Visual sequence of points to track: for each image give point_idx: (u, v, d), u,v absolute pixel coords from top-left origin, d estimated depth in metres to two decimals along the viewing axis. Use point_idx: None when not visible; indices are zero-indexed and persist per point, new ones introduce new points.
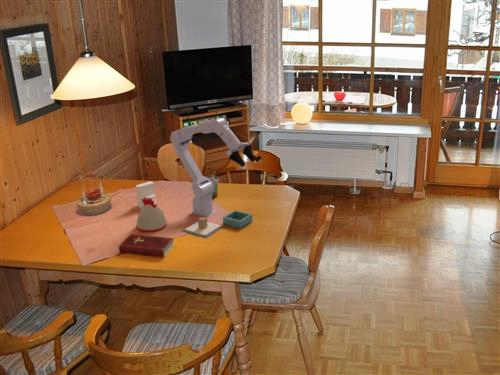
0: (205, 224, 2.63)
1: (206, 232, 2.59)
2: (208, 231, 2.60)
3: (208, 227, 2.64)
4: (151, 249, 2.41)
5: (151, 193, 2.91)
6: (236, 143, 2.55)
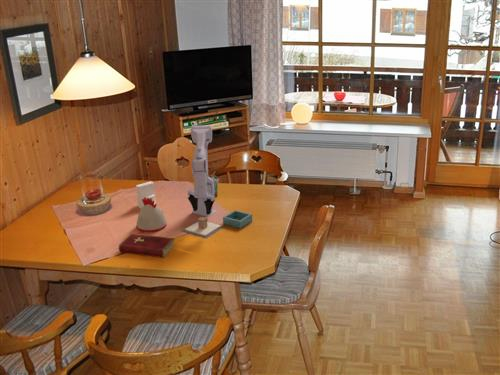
0: (205, 224, 2.63)
1: (206, 232, 2.59)
2: (208, 231, 2.60)
3: (208, 227, 2.64)
4: (151, 249, 2.41)
5: (151, 193, 2.91)
6: (195, 192, 2.57)
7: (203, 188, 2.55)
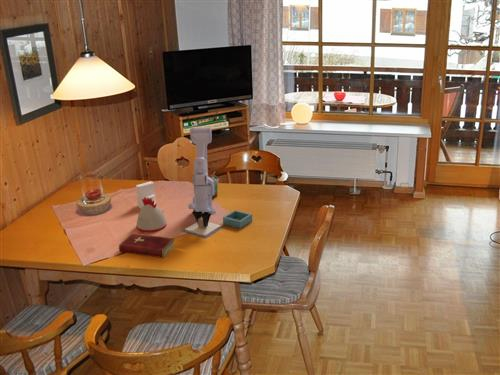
0: None
1: (206, 232, 2.59)
2: (208, 231, 2.60)
3: (208, 227, 2.64)
4: (150, 249, 2.41)
5: (151, 193, 2.91)
6: (196, 206, 2.59)
7: (204, 202, 2.57)
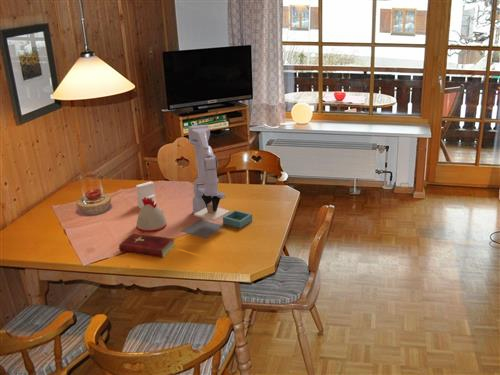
0: None
1: (215, 217, 2.58)
2: (217, 216, 2.59)
3: (217, 212, 2.63)
4: (150, 249, 2.41)
5: (151, 193, 2.91)
6: (205, 190, 2.58)
7: (213, 186, 2.56)
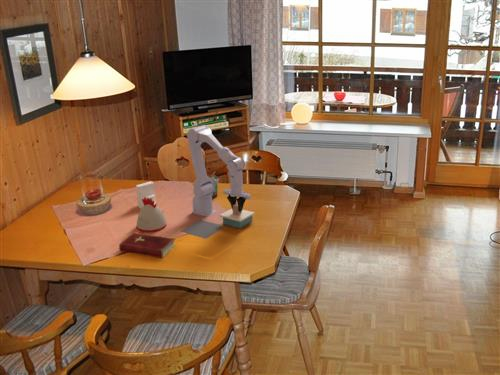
0: None
1: (241, 218, 2.63)
2: (243, 217, 2.64)
3: (242, 214, 2.68)
4: (150, 249, 2.41)
5: (151, 193, 2.91)
6: (231, 191, 2.63)
7: (239, 187, 2.61)
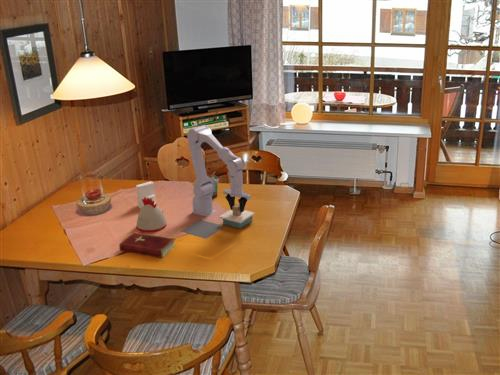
0: (239, 211, 2.67)
1: (241, 219, 2.63)
2: (243, 218, 2.64)
3: (242, 214, 2.68)
4: (150, 249, 2.41)
5: (151, 193, 2.91)
6: (231, 191, 2.63)
7: (239, 187, 2.61)
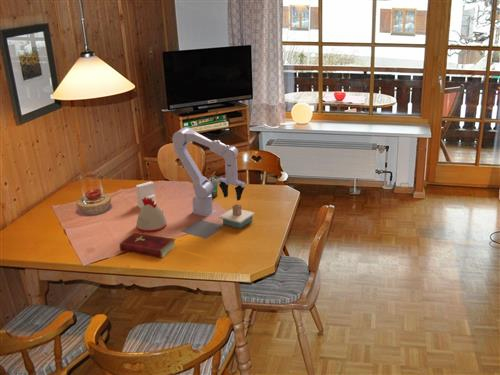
0: (239, 211, 2.67)
1: (241, 219, 2.63)
2: (243, 218, 2.64)
3: (242, 214, 2.68)
4: (149, 249, 2.41)
5: (151, 193, 2.91)
6: (226, 179, 2.70)
7: (234, 175, 2.68)
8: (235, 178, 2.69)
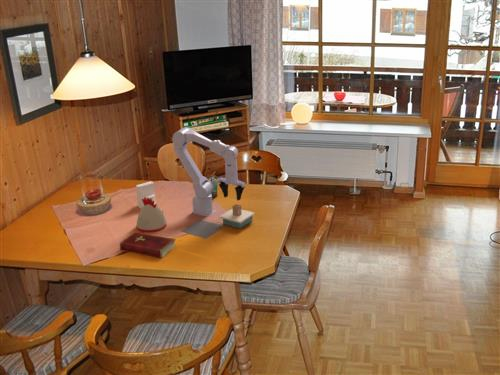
0: (239, 211, 2.67)
1: (241, 219, 2.63)
2: (243, 218, 2.64)
3: (242, 214, 2.68)
4: (149, 249, 2.41)
5: (151, 193, 2.91)
6: (226, 179, 2.70)
7: (234, 175, 2.68)
8: (235, 178, 2.69)
